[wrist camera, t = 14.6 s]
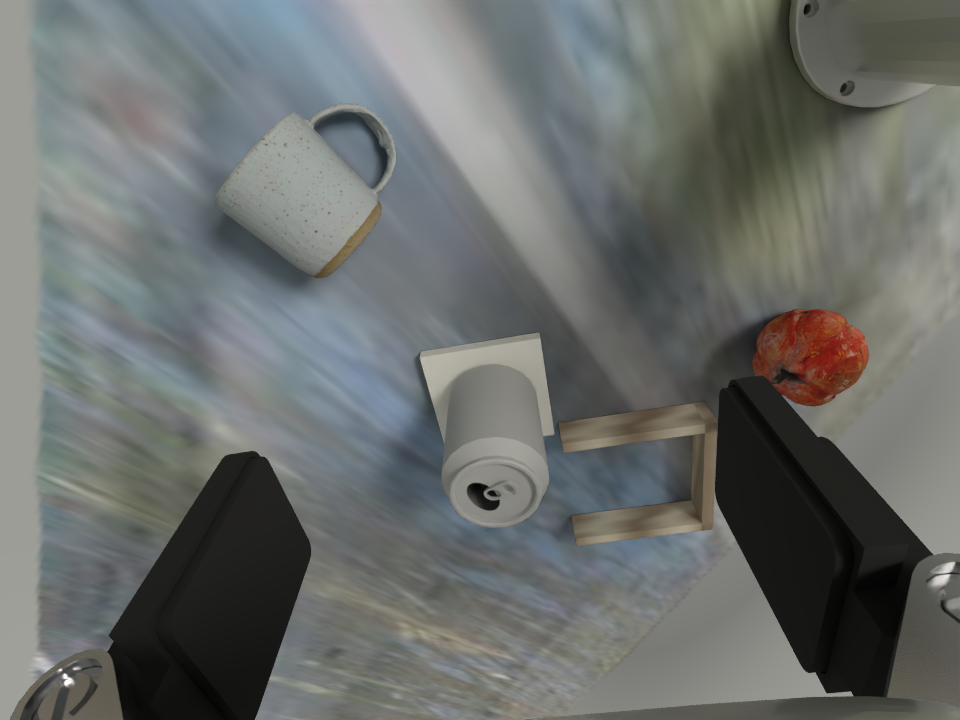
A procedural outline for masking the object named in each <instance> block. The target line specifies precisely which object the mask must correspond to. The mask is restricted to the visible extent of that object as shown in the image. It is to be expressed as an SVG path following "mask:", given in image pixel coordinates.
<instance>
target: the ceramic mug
mask: <svg viewBox="0 0 960 720" xmlns="http://www.w3.org/2000/svg"><path fill="white" fill-rule="evenodd" d="M339 113H354V114H356V115H357V116H359V117H361V118H362V119H363V120H364V121H365V123H366V124H367V125H368V126H369V127H370V129H371V130H372V131H373V132H374V134H375V135H376V137H377V138H378V140H379V144H380V146H381V147H382V148H384V149H385V150H386V153H387V155H388V157H387V167H386V170H385V171H384V174H383V176H382V178H381V179H380V181H379V183H378V184H377V185H376V186H375V187H374V188H373V189H371V188H370V187H369V186H368V185H367V184H366V183H365V182H364V181H363V180H362V179H361V178H360V177H359V176H358V175H357V174H356V173H355V172H354V171H353V170H352V168H351V167H349V166H348V165H347V164H346V163H345V162H344V161H343V160H342V159H341V158H340V157H339V156H338V154H337V153H336V152H335V151H334V150H333V149H332V148H331V147H330V146H329V145H328V143H327V142H325V141H324V140H323V138H322V137H321V136H320V135H319V134H318V133H317V132H316V131H315V130H314V127H315V126H316V125H317V124H318V123H320V122H321V121H323V120H324V119H326V118H328V117H330V116H333V115H336V114H339ZM395 162H396V149H395V144H394V140H393V138H392V136H391V133H390V132H389V130H388V129H387V127H386V125H385V124H384V123H383V122H382V120H381V119H380V118H379V117H378V116H377V115H376V114H375V113H374V112H372V111H371V110H369V109H368V108H366V107H363V106H360V105H358V104H337V105H334V106H330V107H328V108H326V109H323V110H322V111H320V112H319V113H317V114H316V115H314V116H313V117H312V118H310V119H309V120H305V119H303V118H302V117H301V116H300V115H299V114H298V113H290V114H288V115H287V116H285V117H284V118H282V119H281V120H280V121H279V122H278V123H277V124H276V125H274V126H273V127H272V128H271V130H269V131H268V132H267V133H266V134H265V135H264V136H263V137H262V138H261V139H260V141H259V142H258V143H257V144H256V145H255V146H254V147H253V148H252V149H251V150H250V152H249V153H248V154H247V155H246V156H245V157H244V158H243V160H242V161H241V162H240V163H239V165H238V166H237V167H236V168H235V169H234V171H233V172H232V174H231V175H230V176H229V178H228V179H227V181H226V182H225V183H224V185H223V186H222V187H221V189H220V190H219V192H218V193H217V195H216V198H215V204H216V206H217V207H218V208H219V209H220V210H221V211H223V212H224V213H225V214H227V215H228V216H230V217H231V218H232V219H234V220H235V221H237V222H238V223H239V224H240V225H241V226H243V227H244V228H245V229H247V230H248V231H250V232H251V233H252V234H253V235H255V236H256V237H257V238H259V239H260V240H261V241H262V242H264V243H265V244H267V245H268V246H269V247H271V248H272V249H274V250H275V251H276V252H277V253H279V254H280V255H281V256H282V257H284V258H285V259H286V260H287V261H289V262H290V263H291V264H293V265H294V266H295V267H297V268H298V269H300V270H302V271H304V272H306V273H307V274H309V275H311V276H313V277H316V278H324V277H328V276H329V275H330V274H332V273H333V272H334V271H335V270H336V269H337V268H338V267H339V266H340V265H341V264H342V263H343V262H344V261H345V260H346V259H347V258H348V257H349V256H350V255H351V254H352V253H353V251H354V250H355V249H356V248H357V247H358V246H359V244H360V243H361V242H362V241H363V240H364V238H365V237H366V236H367V235H368V234H369V232H370V231H371V230H372V228H373V227H374V226H375V224H376V223H377V221H378V220H379V218H380V216H381V204H380V202H379V200H378V193H379V192H380V191H381V190H382V189H383V188H384V187H385V185H386V184H387V183H388V181H389V179H390V177H391V175H392V173H393V170H394V167H395Z"/></svg>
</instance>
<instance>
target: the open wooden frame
mask: <svg viewBox="0 0 960 720" xmlns="http://www.w3.org/2000/svg"><path fill="white" fill-rule="evenodd" d="M558 425H559V432H560V437H561V442H562V447H563V452H564V453H566V452H573V451H580V450H588V449H595V448H602V447H609V446H616V445H623V444H631V443H638V442H645V441H652V440H659V439H666V438H673V437H681V436H688V435H692V485H691V500H689V501H681V502H673V503H665V504H657V505H650V506H642V507H634V508H626V509H618V510H610V511H603V512H595V513H587V514H579V515H571V517H572V524H573V529H574V534H575V540H576V545H577V546H579V545H587V544H596V543H604V542H612V541H620V540H628V539H637V538H645V537H653V536H661V535H669V534H678V533H686V532H694V531H702V530H710V529H712V527H713V506H714V485H715V464H716V443H717V420H716V419H715V417H714V416H713V414H712V413H711V411H710V409H709V408H708V406H707V405H706V403H705V402H698V403H691V404H684V405H677V406H670V407H663V408H657V409H650V410H643V411H636V412H629V413H622V414H615V415H609V416H602V417H595V418H588V419H581V420H574V421H567V422H560V423H558Z"/></svg>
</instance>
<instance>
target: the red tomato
mask: <svg viewBox="0 0 960 720" xmlns="http://www.w3.org/2000/svg"><path fill="white" fill-rule="evenodd" d="M756 346H757V351H756V353H755V355H754V357H753V361H752V367H753V371H754V375H755V376H760V375H761V376H764V377H766V378H767V379H768V380H769V382H770V383H771V384H772V385H773V386H774V387H775V388H776V390H777V391H778V392H779V393H780V394H781V395H784V396H786V397H787V398H788V399H790V400H791V401H793V402H795V403H798V404H802V405H806V406H819V405H823V404H825V403H827V402H829V401H831V400H832V399H834V398H835V395H837V394H839V393H841V392H842V391H844V390H845V389H847V388H849V387H850V386H852V385H853V384H854V383H856V382H857V380H858V379H859V377H860V376H861V374H862V372H863V371H864V369H865V368H866V365H867V362H868V356H869V353H868V346H867V344H866V341H865V337H864V335H863V333H862V332H861V331H859V330H858V329H856V328H854V327H853V326H851V325H849V324H848V323H847V321H846V319H845V317H844V316H842V315H840V314H838V313H835V312H831V311H825V310H819V309H817V310H809V311H808V310H798V309H796V310H792V311H789V312H786V313H784V314H782V315H780V316H778V317H776V318H775V319H773V320H772V321H770V322H769V323H768V324H767V325H766V326H765V327H764V328H763V330H762V331H761V332H760V334H759V336H758V338H757V342H756Z"/></svg>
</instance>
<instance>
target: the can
mask: <svg viewBox="0 0 960 720" xmlns="http://www.w3.org/2000/svg"><path fill="white" fill-rule="evenodd" d="M441 481H442V485H443V490H444V492H445V494H446V495H447V496H448V498H449V499H450V501H451V505H452V506H453V508H454V509H455V511H456V512H457V513H458V514H459V515H460V516H461V517H463V518H464V519H466V520H467V521H469V522H471V523H474V524H477V525H479V526H484V527H492V528H497V527H507V526H511V525H514V524H517V523H520V522H522V521H523V520H525V519H526V518H528V517H529V516H531V515H532V514H533V513H534V512H535V510H536V509H537V508H538V507H539V504H540V501H541V498H542V497H543V495H544V494H545V493H546V489H547V486H548V483H549V472H548V464H547V458H546V452H545V445H544V439H543V432H542V426H541V419H540V413H539V407H538V400H537V394H536V390H535V388H534V386H533V384H532V382H531V381H530V380H529V379H528V378H527V377H526V376H525V375H524V374H523V373H522V372H520V371H518V370H516V369H514V368H512V367H510V366H505V365H499V364H489V365H480V366H478V367H475V368H473V369H471V370H468V371H466V372H465V373H464V374H463V375H462V376H460V377H459V378H458V379H457V380H456V382H455V384H454V385H453V387H452V389H451V391H450V397H449V403H448V413H447V423H446V433H445V443H444V453H443V463H442V473H441Z"/></svg>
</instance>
